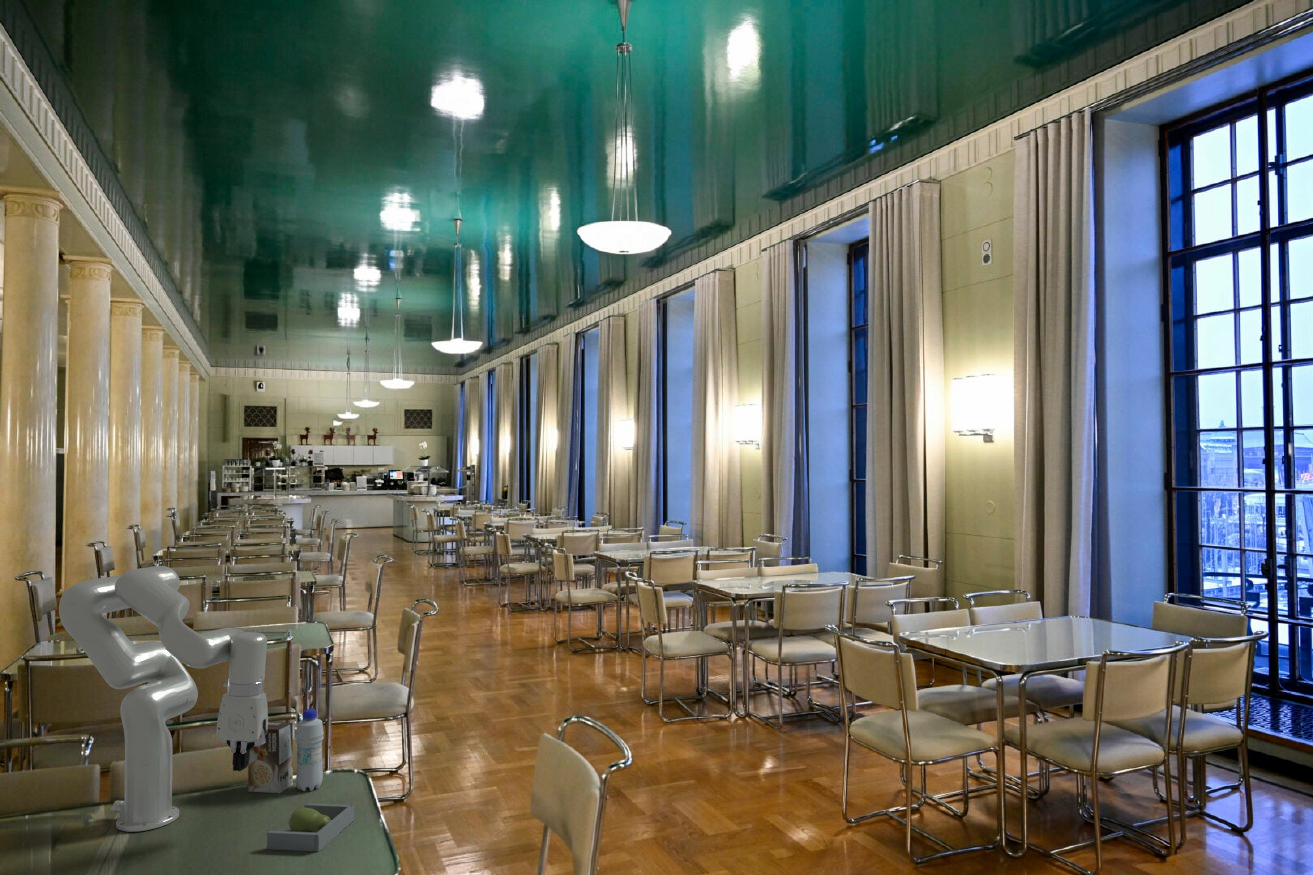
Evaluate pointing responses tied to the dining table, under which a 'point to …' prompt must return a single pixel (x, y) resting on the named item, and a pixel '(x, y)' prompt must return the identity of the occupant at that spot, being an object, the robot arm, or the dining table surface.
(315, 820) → the pear
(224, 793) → the dining table surface
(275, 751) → the coffee box
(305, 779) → the bottle
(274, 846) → the box
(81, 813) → the dining table surface
